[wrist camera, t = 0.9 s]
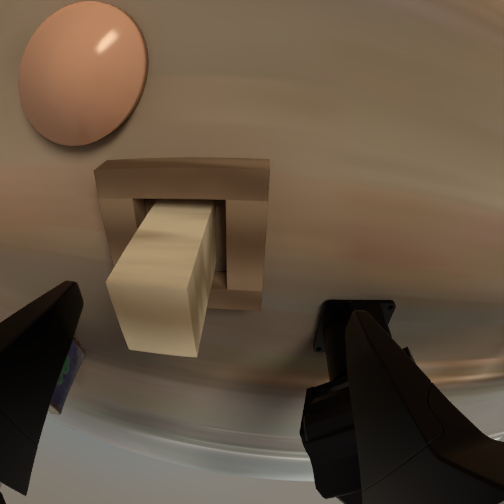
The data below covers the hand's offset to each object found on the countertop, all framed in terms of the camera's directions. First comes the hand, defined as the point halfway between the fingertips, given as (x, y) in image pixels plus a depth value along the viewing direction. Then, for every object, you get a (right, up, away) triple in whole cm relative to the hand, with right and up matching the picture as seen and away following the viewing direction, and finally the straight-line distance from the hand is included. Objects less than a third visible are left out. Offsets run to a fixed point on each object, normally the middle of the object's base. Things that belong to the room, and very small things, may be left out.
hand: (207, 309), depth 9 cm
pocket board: (-3, +3, +13) cm, 14 cm away
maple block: (-3, +3, +13) cm, 14 cm away
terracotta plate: (-10, +13, +6) cm, 18 cm away
